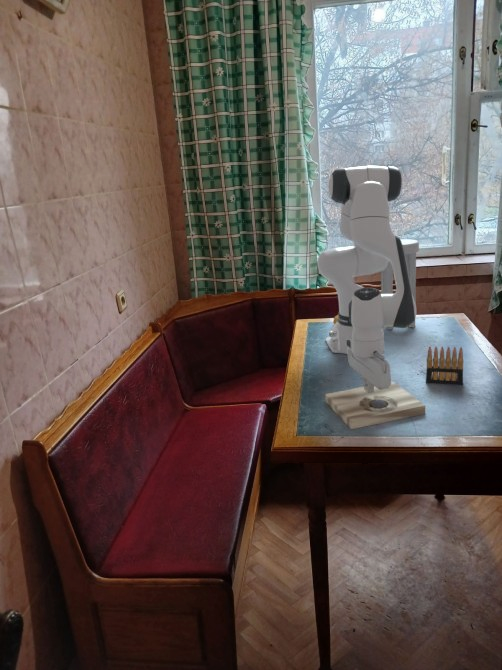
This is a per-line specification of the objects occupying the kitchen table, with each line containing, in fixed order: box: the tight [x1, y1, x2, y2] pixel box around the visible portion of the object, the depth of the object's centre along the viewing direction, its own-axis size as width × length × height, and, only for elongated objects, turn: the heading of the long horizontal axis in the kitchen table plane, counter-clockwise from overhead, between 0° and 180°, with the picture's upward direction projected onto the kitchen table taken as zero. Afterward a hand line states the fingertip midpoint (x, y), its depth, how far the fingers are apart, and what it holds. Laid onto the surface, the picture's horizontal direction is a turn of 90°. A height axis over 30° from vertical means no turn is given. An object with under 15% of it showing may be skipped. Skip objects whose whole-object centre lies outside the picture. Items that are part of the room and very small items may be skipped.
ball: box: [372, 399, 387, 408], centre depth 138 cm, size 4×4×4 cm
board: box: [324, 380, 426, 430], centre depth 142 cm, size 18×22×2 cm
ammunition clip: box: [425, 346, 464, 386], centre depth 151 cm, size 11×2×12 cm, turn 71°
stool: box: [380, 238, 420, 330], centre depth 205 cm, size 16×16×35 cm
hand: (369, 391), depth 143 cm, fingers closed
